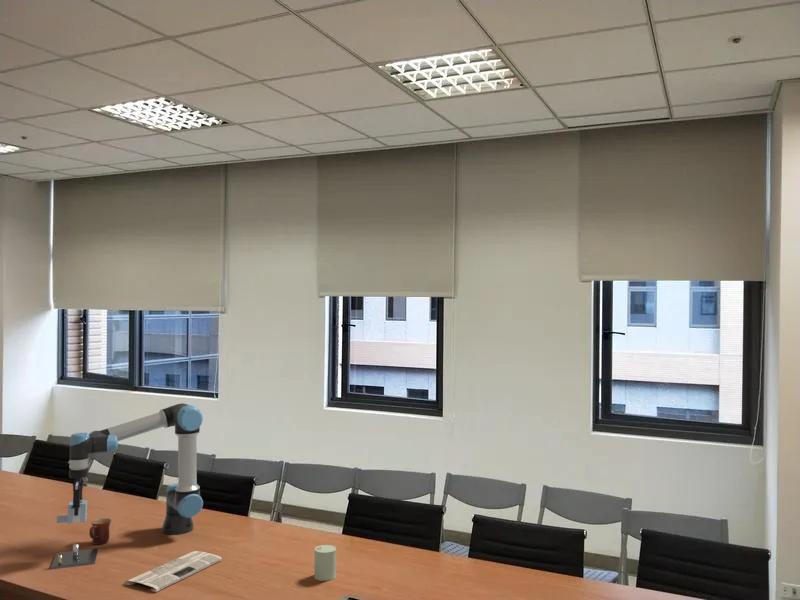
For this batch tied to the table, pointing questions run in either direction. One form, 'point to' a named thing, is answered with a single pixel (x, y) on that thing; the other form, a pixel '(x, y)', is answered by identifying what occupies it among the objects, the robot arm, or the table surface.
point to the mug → (100, 531)
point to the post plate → (76, 561)
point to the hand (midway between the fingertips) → (77, 519)
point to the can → (325, 562)
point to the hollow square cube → (69, 517)
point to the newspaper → (175, 570)
